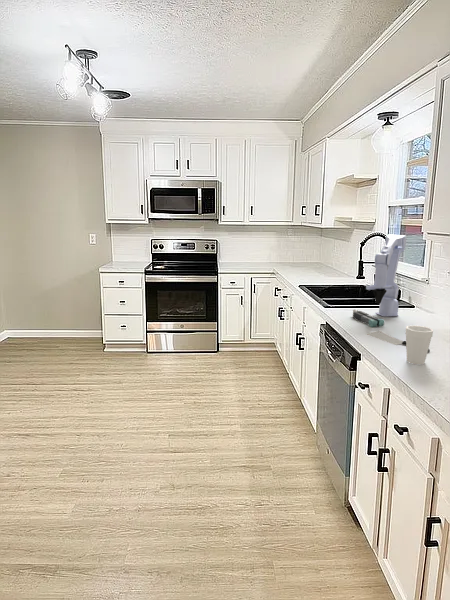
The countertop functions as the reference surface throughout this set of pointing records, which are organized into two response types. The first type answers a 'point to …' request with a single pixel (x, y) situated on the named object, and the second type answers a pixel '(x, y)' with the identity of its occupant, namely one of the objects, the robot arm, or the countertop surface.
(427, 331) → the foam cup
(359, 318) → the tongs fixed arm
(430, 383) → the countertop surface
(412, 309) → the countertop surface
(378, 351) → the countertop surface
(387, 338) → the kitchen cleaver
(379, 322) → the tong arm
